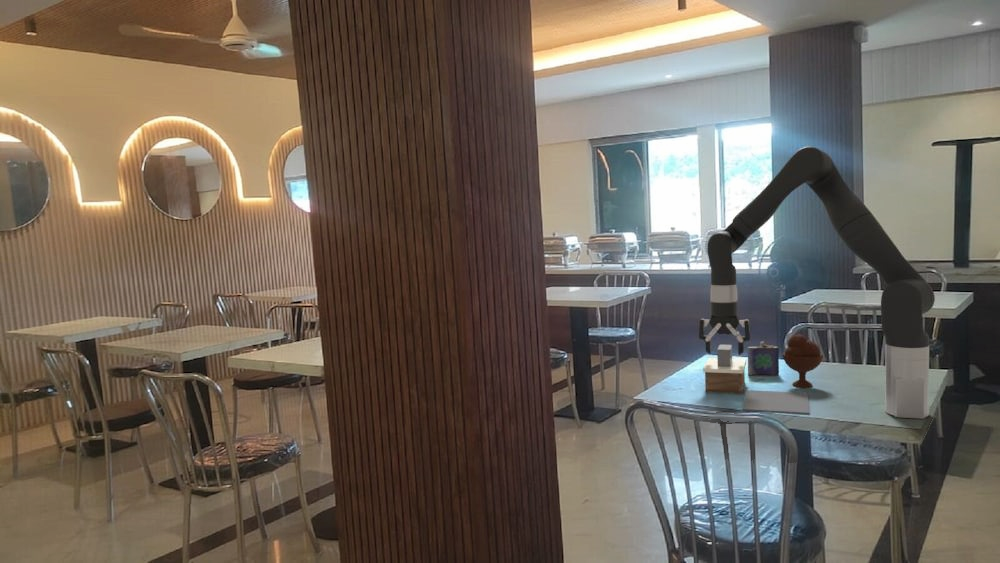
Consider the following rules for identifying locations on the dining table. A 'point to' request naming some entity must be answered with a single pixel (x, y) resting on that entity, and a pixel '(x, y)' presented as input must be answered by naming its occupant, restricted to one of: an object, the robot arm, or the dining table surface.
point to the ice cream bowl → (802, 358)
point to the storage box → (724, 382)
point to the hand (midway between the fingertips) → (724, 354)
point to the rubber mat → (776, 402)
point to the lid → (725, 362)
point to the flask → (763, 360)
